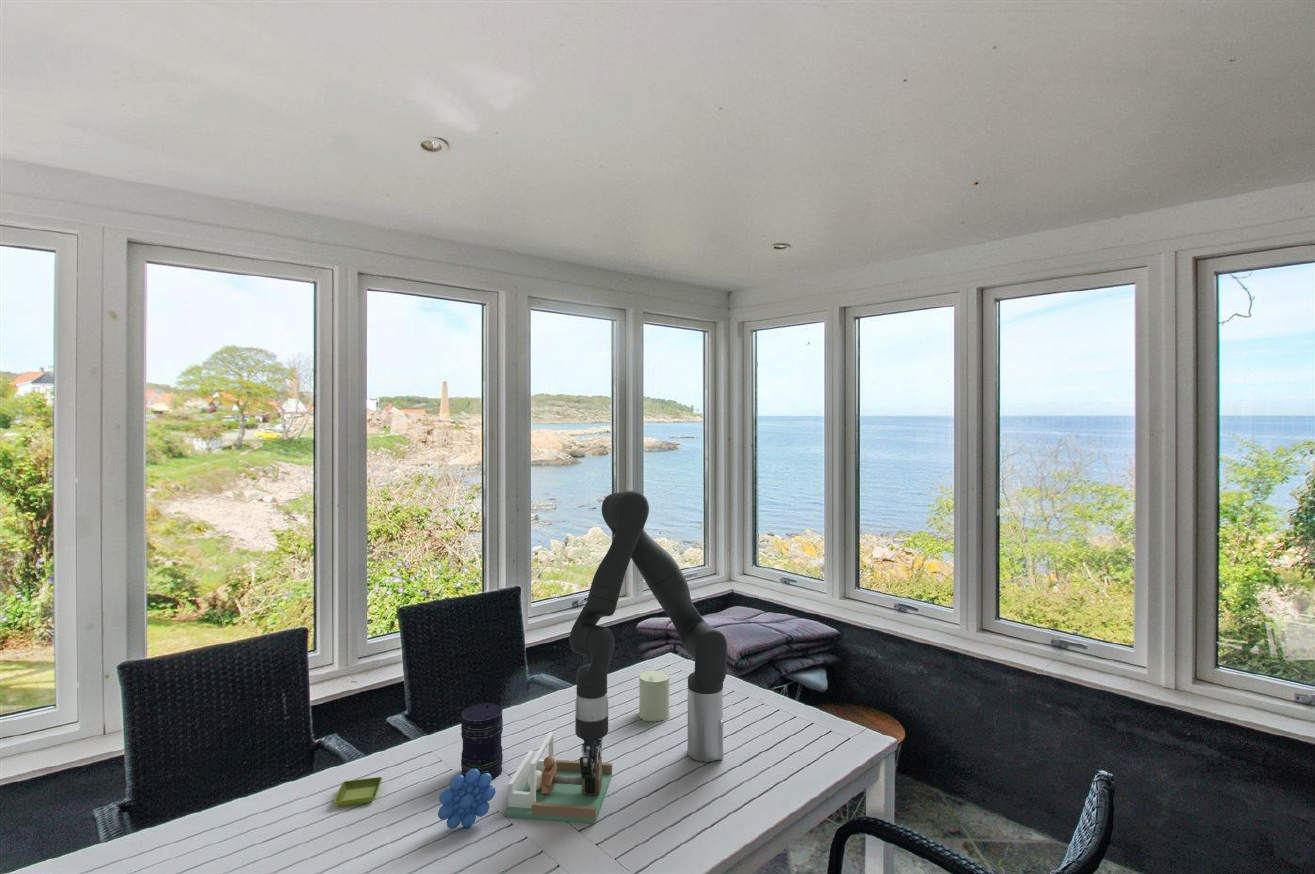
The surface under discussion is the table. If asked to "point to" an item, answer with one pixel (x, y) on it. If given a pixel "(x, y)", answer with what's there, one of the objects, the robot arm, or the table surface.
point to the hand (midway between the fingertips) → (591, 787)
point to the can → (654, 695)
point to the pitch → (553, 791)
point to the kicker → (567, 777)
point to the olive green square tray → (357, 791)
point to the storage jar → (482, 739)
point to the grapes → (466, 799)
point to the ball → (537, 780)
